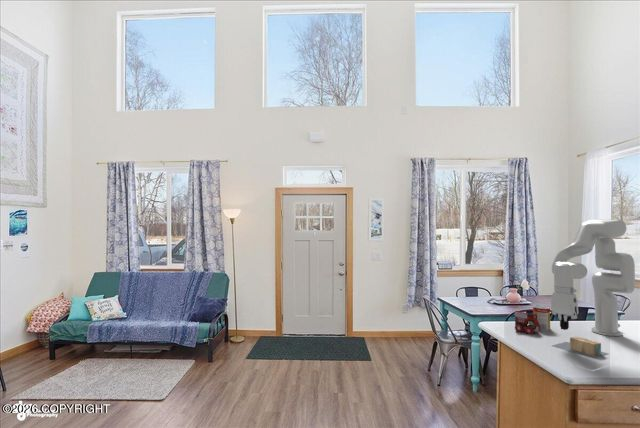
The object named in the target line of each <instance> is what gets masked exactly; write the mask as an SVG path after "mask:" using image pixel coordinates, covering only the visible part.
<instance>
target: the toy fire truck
mask: <svg viewBox="0 0 640 428" xmlns="http://www.w3.org/2000/svg"><path fill="white" fill-rule="evenodd" d="M514 318H515V319H514V320H515V323H514V330H515V331H516V332H518V333H523V332H525V333H526V335H533V334H535V333H540V332H541V330H540V324H539V322H538V320H537V318H535V317H534V314H533V313H528V312H525V311H524V312H523V311H519V310H516V311H514Z"/></svg>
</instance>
